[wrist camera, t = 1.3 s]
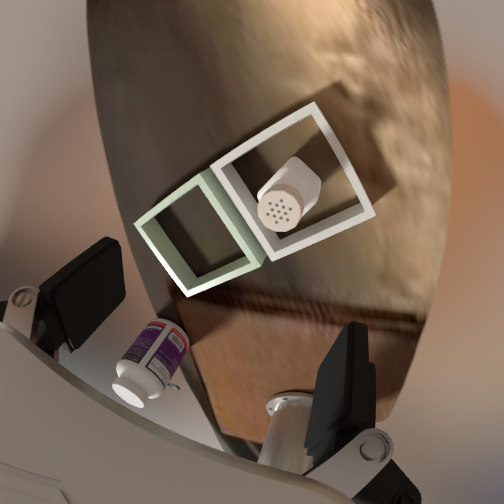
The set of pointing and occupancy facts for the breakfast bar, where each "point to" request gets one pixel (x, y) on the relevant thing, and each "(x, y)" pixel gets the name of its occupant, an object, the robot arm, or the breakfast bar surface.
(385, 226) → the breakfast bar surface
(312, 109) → the grey bin
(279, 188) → the pepper shaker
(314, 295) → the breakfast bar surface
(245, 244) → the green bin
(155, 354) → the pill bottle
